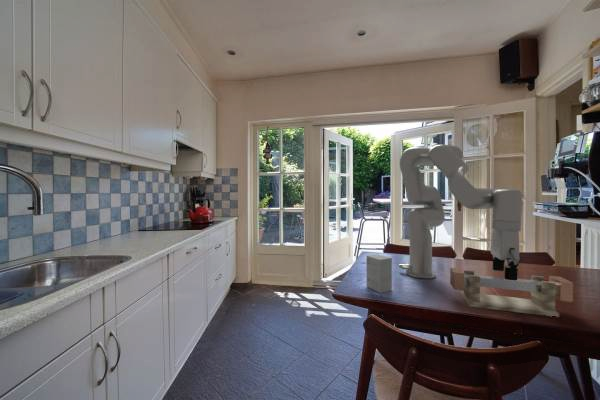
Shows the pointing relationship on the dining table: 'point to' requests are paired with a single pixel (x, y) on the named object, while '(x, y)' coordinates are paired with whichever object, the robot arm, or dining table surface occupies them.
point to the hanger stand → (512, 298)
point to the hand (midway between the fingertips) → (504, 274)
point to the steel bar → (514, 284)
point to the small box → (379, 273)
